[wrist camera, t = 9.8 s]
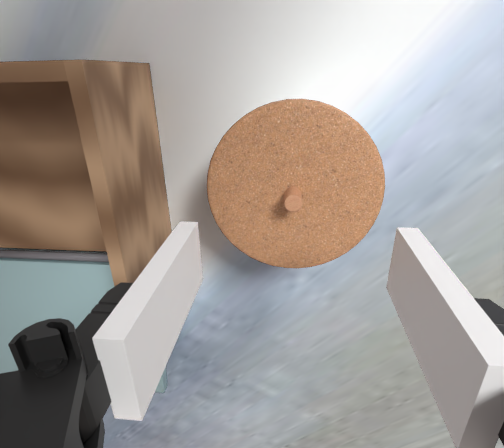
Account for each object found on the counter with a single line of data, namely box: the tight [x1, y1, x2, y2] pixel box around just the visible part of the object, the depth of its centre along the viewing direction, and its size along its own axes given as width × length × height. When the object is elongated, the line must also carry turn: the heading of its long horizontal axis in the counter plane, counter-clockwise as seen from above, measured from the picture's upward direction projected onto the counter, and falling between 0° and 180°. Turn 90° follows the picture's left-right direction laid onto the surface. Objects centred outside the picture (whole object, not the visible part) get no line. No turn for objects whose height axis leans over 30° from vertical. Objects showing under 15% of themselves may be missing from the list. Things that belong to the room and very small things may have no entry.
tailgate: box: [0, 250, 167, 393], centre depth 34 cm, size 1×21×15 cm
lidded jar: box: [207, 99, 385, 268], centre depth 23 cm, size 11×11×9 cm
